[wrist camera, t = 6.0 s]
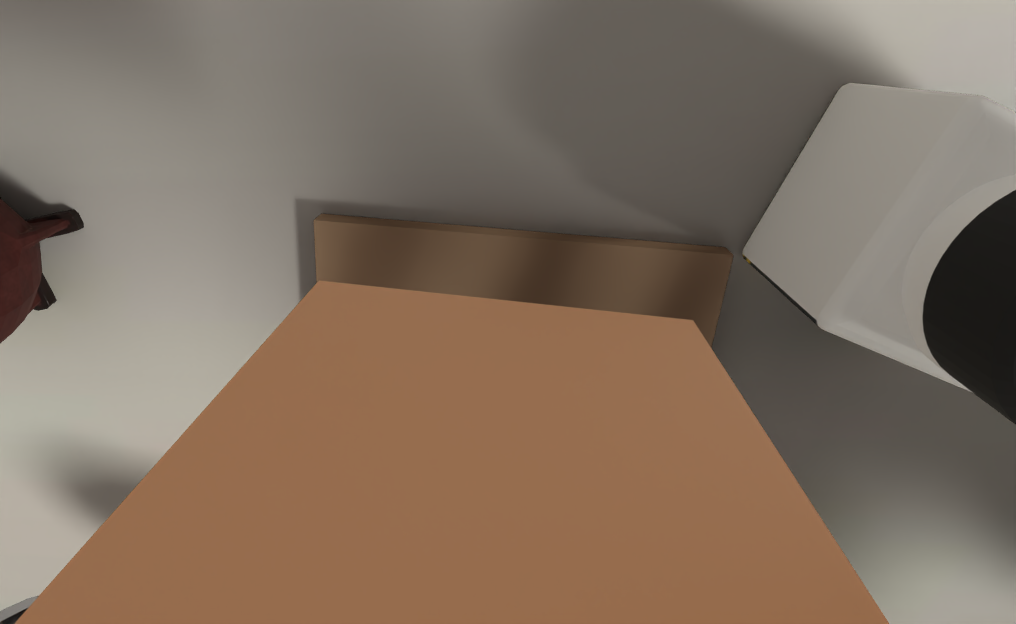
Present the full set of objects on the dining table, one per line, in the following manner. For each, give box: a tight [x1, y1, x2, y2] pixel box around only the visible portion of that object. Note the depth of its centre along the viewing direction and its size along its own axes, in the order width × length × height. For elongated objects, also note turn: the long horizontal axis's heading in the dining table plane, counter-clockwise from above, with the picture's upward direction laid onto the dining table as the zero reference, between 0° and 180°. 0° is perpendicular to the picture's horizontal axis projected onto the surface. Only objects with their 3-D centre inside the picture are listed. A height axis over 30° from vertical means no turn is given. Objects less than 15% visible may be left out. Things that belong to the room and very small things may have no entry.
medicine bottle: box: [742, 83, 1016, 424], centre depth 18 cm, size 7×7×12 cm
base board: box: [314, 214, 734, 347], centre depth 26 cm, size 16×14×1 cm
